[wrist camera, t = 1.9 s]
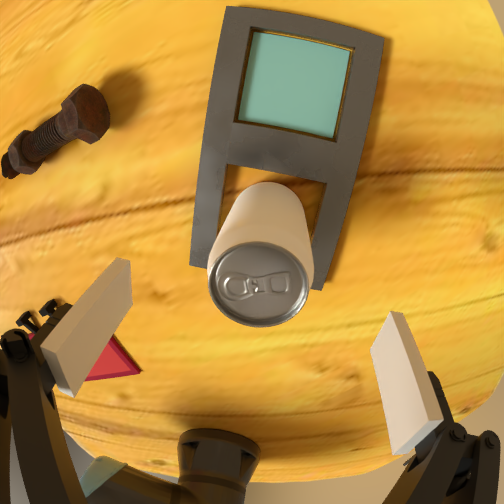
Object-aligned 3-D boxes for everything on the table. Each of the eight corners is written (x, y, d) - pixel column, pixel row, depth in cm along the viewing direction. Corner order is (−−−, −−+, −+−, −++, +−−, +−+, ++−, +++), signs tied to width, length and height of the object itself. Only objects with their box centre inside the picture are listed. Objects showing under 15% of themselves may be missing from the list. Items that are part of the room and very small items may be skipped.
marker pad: (332, 138, 24) (332, 138, 24) (238, 119, 24) (237, 119, 24) (349, 51, 20) (349, 51, 20) (254, 32, 20) (253, 31, 20)
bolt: (27, 154, 28) (113, 100, 25) (23, 191, 28) (112, 143, 24) (-8, 142, 23) (76, 74, 19) (-14, 182, 22) (69, 120, 19)
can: (227, 184, 27) (188, 240, 16) (301, 176, 26) (314, 228, 15) (238, 250, 29) (213, 334, 19) (306, 244, 28) (318, 329, 18)
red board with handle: (-3, 325, 42) (43, 380, 48) (-11, 334, 39) (37, 389, 45) (79, 285, 34) (142, 366, 40) (68, 297, 32) (136, 380, 38)
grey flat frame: (320, 284, 30) (321, 290, 29) (192, 259, 30) (189, 265, 29) (380, 40, 19) (384, 38, 18) (229, 10, 19) (226, 5, 18)
